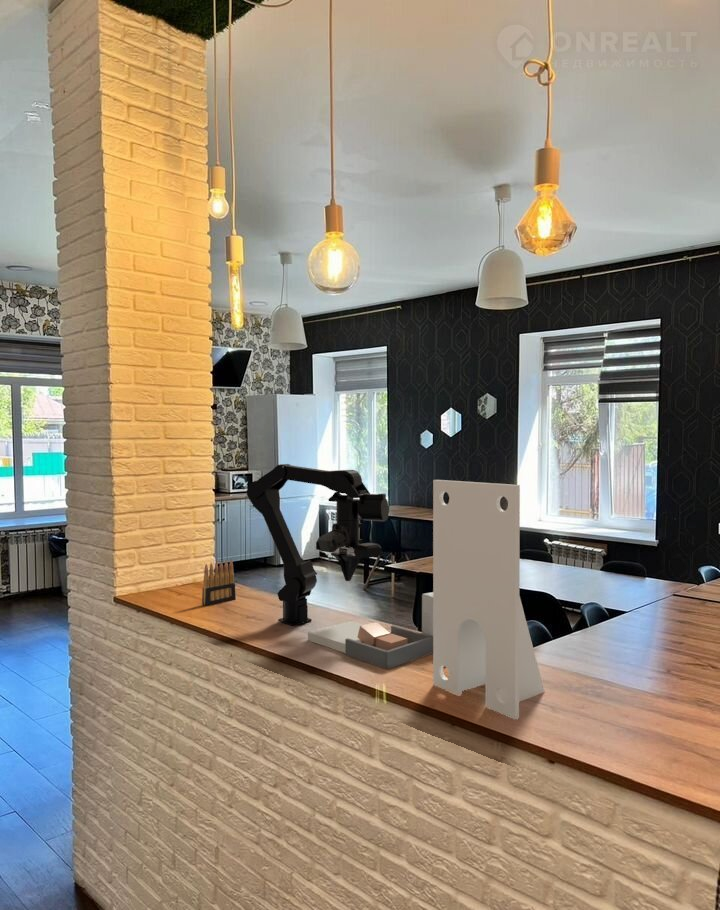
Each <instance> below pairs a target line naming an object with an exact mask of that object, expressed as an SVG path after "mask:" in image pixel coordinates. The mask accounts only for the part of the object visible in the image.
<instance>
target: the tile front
mask: <svg viewBox="0 0 720 910" xmlns="http://www.w3.org/2000/svg"><path fill="white" fill-rule="evenodd" d="M406 644H407V638H404V637H401V636H398V635H395V634H388V635H385V636H381V637H378V638H376V647H377V648H380V649H383V650H387V651H388V650H391V649H394V648H397V647H400V646H403V645H406Z"/></svg>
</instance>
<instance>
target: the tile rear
mask: <svg viewBox="0 0 720 910" xmlns="http://www.w3.org/2000/svg"><path fill="white" fill-rule="evenodd" d="M389 632H390V631H388V630H387V629H386V628H385V627H383V626H382V625H380V624H379V623H378V622H376V621H374V622H371V623H367V624H366V623H365V624H364V625H362V626H360V628H359V632H358V636H357V638H359V639H360V640H361V641H362V642H363V643H365V644H367V645H371V646H374V647H376V638H378V637H381V636H385V635H388V634H390V633H389Z"/></svg>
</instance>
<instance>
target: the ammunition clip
mask: <svg viewBox="0 0 720 910" xmlns="http://www.w3.org/2000/svg"><path fill="white" fill-rule="evenodd" d="M233 563H234V562H233V560H232V559H230V561H229V563H228V561H227V560H225V562H224V565H223V561H220V562H219V564H218V562H215V564H214V566H213V563H212V562H211V563H210V564H209V565H210V566H209V567H208V564H207V563H206V564H205V565H204V568H203V569H204V571H203V587H202V594H201V595H202V597H201V598H202V599H201V601H202V602H201V603H202V604H201V605H202V606H204V607H207V606H213V605H218V604H222V603H226V602H232V601H236V597H237V596H236V583H235V573H234V564H233ZM218 565H219V566H218Z"/></svg>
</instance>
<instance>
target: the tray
mask: <svg viewBox="0 0 720 910" xmlns="http://www.w3.org/2000/svg"><path fill="white" fill-rule="evenodd" d="M390 632H391V634H395V635H398V636H401V637H404V638H407V644H406V645H403V646H400V647H397V648H394V649H391V650H388V651H387V650H383V649H380V648H377V647H374V646H371V645H367V644H364V643H361V642H358V641H355V640H352V639H345V653H344V654H345V656H348V657H351V658H353V659H356V660H360V661H363V662H365V663H368V664H371V665H373V666H377V667H379V668H383V669H386V670H389V669H391V668H395V667H397V666H400V665H403V664H406V663H408V662H412V661H414V659H415V660H417V659H420V658H423V657H426V656H428V655H431V654H432V655H433V636H430V635H427V634H423V633H422V632H419V631H416V630H411V629H407V628H405V627H401V626H397V625H390ZM425 655H426V656H425ZM422 656H423V657H422ZM411 660H412V661H411Z"/></svg>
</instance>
